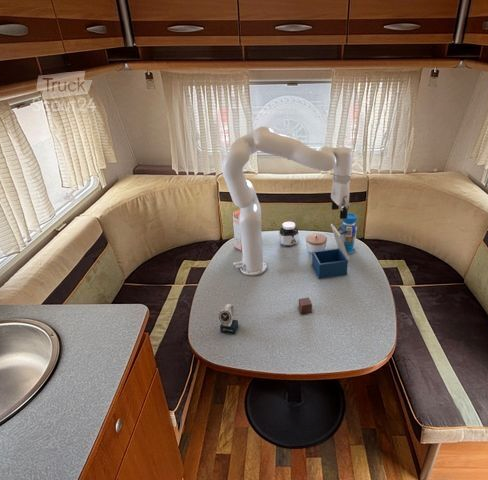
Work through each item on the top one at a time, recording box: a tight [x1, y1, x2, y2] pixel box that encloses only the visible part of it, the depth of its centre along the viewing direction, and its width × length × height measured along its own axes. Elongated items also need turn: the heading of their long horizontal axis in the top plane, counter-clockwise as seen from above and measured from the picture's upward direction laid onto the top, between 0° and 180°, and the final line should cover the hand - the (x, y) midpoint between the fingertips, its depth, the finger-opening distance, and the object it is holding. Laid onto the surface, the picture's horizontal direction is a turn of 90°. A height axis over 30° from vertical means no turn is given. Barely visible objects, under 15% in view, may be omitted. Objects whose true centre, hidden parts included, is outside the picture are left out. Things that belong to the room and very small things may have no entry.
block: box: [298, 297, 313, 315], centre depth 145 cm, size 4×4×4 cm
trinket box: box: [305, 232, 328, 254], centre depth 183 cm, size 11×11×9 cm
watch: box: [218, 303, 239, 335], centre depth 133 cm, size 6×8×11 cm
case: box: [311, 247, 349, 280], centre depth 169 cm, size 14×12×8 cm
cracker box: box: [232, 209, 242, 252], centre depth 187 cm, size 14×6×21 cm, turn 136°
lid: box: [330, 223, 350, 261], centre depth 164 cm, size 14×12×5 cm
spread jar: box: [278, 221, 300, 248], centre depth 192 cm, size 12×11×12 cm
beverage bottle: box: [339, 212, 358, 255], centre depth 181 cm, size 8×8×20 cm
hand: (339, 213), depth 160 cm, fingers open, 9 cm apart
